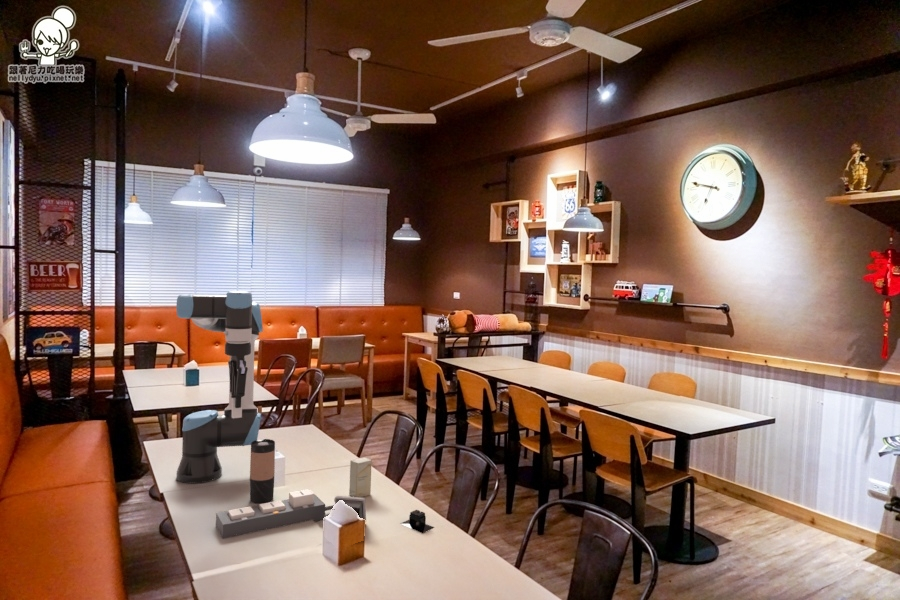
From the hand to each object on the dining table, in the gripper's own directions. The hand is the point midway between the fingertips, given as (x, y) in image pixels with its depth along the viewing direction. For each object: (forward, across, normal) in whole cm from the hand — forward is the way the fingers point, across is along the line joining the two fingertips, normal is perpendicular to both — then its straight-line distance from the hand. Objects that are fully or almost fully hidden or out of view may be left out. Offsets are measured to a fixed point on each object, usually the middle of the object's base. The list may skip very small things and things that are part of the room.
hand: (236, 417), depth 179 cm
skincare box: (+31, +5, +40) cm, 51 cm away
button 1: (+29, +14, -2) cm, 32 cm away
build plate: (+31, +36, +45) cm, 65 cm away
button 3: (+27, +14, +16) cm, 35 cm away
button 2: (+29, +14, +7) cm, 33 cm away
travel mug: (+31, -4, +10) cm, 33 cm away
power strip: (+30, +14, +10) cm, 35 cm away
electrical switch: (+30, +26, +27) cm, 48 cm away
